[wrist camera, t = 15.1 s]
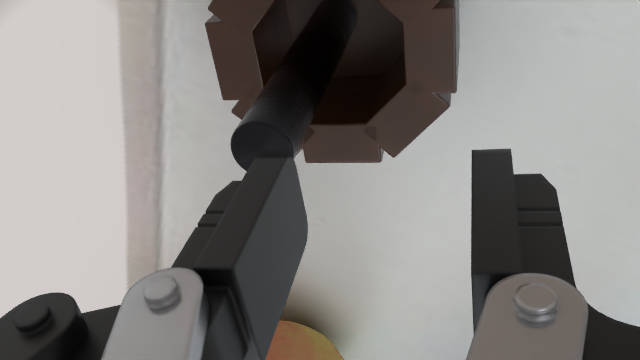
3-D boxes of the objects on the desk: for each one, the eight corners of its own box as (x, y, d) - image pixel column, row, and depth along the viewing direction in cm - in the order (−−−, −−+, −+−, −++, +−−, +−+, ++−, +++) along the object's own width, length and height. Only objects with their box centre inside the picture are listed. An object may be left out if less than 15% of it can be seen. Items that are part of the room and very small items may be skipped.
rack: (251, -124, 22) (94, -50, 13) (471, -82, 21) (470, 28, 12) (239, 77, 26) (116, 236, 17) (419, 117, 26) (389, 305, 17)
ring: (331, -154, 20) (303, -139, 16) (507, 7, 21) (512, 49, 18) (210, 26, 24) (169, 65, 21) (363, 147, 26) (347, 201, 22)
